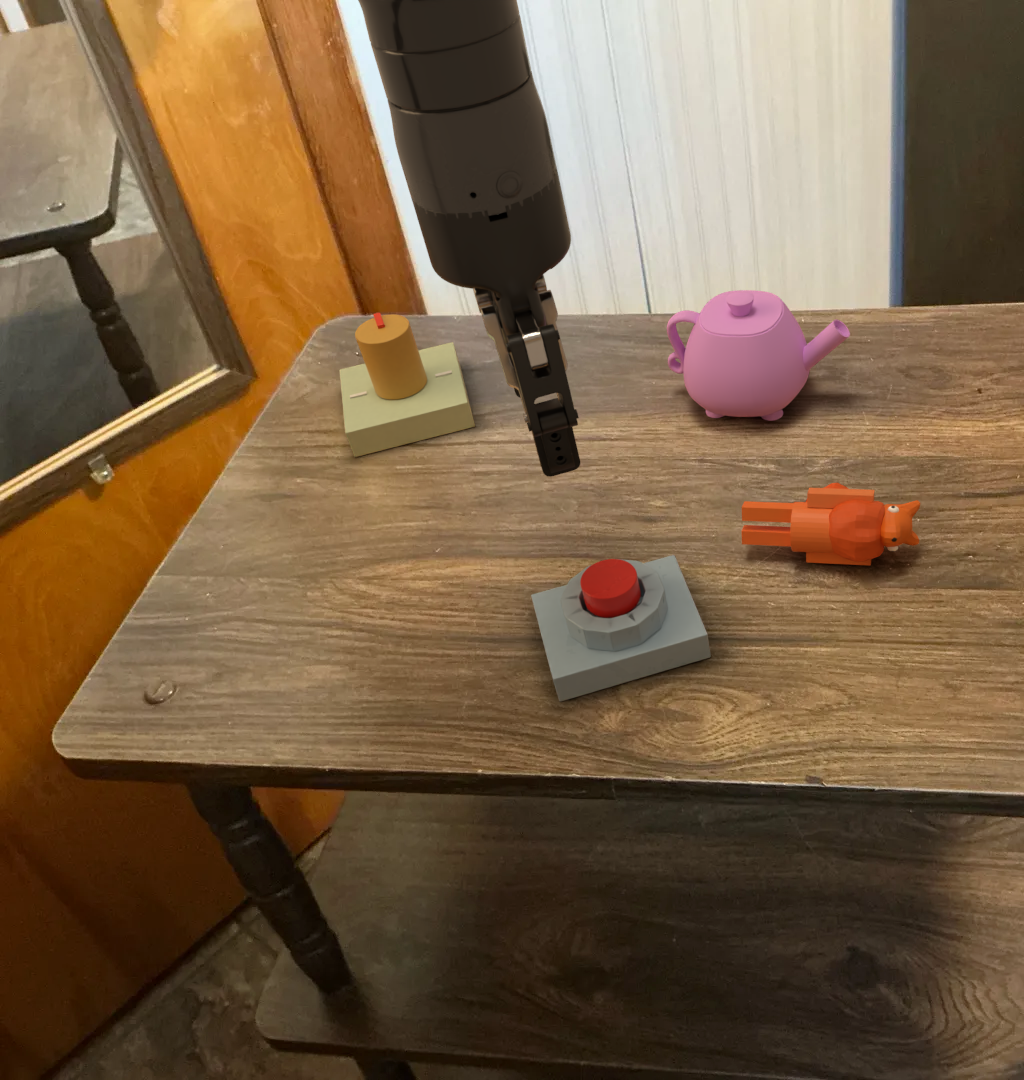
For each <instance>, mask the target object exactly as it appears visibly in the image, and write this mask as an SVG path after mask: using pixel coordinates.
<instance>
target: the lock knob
mask: <svg viewBox="0 0 1024 1080" xmlns="http://www.w3.org/2000/svg"><path fill="white" fill-rule="evenodd" d="M411 326H412V325H411V323H410V321H409V319H408V318H406V317H405V316H403V315H401V314H383V315H382V314H381V312H376V313H373V317H372V318H370V319H367V320H365V321H364V322H362V323H361V324H360V325H359V326H358V327H357V328H356V330H355V332H354V338H355V340H356V343H357V346H358V348H359V351H360V354H361V356H362V359H363V362H364V363H365V365H366V368H367V370H368V373H369V376H370V379H371V381H372V384H373V387H374V390H375V392H376V394H377V395H378V396H379V397H381V398H384V399H389V400H396V399H403V398H406V397H409V396H412V395H414V394H416V393H417V392H419V391H420V390H421V389H422V388H423V387H424V386H425V385H426V383H427V376H426V373H425V370H424V366H423V363H422V360H421V357H420V354H419V351H418V350H419V348H418V345H417V343H416V339H415V336H414V332H413V329H412V327H411Z"/></svg>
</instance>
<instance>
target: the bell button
mask: <svg viewBox="0 0 1024 1080" xmlns="http://www.w3.org/2000/svg"><path fill="white" fill-rule="evenodd" d="M620 559H621V558H608V559H607V558H606V559H602V560H600V561H597V562H595V563H593V564H590V565H591V566H590V565H589V566H590V567H589V568H587V569H586V570H585V572H584V573H583V575H582V577H581V581H580V585H581V589H582V593H583V597H584V601H585V605H586V607H587V609H588V610H589V611H590V612H591V613H593V614H594V615H597V616H599V617H605V618H612V617H617V616H621V615H624V614H626V613H628V612H630V611H631V610H632V609H633V608H635V606H636V605H637V604H638V602H639V600H640V597H641V591H640V586H639V581H638V576H637V572H636V570H635V568H634V567H633V566H632V565H631V564H630V563H628V562H626V561H624V560H625V559H624V560H620Z"/></svg>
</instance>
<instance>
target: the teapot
mask: <svg viewBox="0 0 1024 1080" xmlns="http://www.w3.org/2000/svg"><path fill="white" fill-rule="evenodd" d="M683 322H684V323H691V324H693V326H692V327H691V328H692V329H691V331H690V333H689V336H688V339H687V342H686V346H685V344H684V343H683V340H682V339H681V337H680V334H679V331H678V329H677V324H678V323H683ZM666 335H667V337H668V340H669V342H670V345H671V346H672V349H673V352H671V353H670V354H669V355H668V358H667V366H668V368H669V369H670V370H671V371H672V372H673V373H676V374H679V375H683V383H684V387H685V389H686V391H687V394H688V395H689V397H690V398H691V399H692V400H693V401H694V402H695V403H696V404H698V405H699V406H700V407H701V408H703V409H704V410H705V414H706V416H707V417H709V418H712V419H720V418H723V417H725V416H726V417H738V418H755V417H761V419H763V420H764V421H771V422H773V421H777V420H779V419H781V418H782V417H783V415H784V411H783V409H785V408H786V407H787V406H788V405H790V403H792V401H794V399H795V398H796V397H797V396H798V394H799V393H800V392H801V391H802V389H803V388H804V386H805V385H806V383H807V380H808V378H809V376H810V371H811V369H812V368H813V367H815V366H816V365H817V364H818V363H819V362H821V361H822V360H823V359H824V358H825V357H827V356H828V355H829V354H830V353H831V352H833V351H834V350H835V349H837V348H838V347H839V346H840V345H841V344H842V343H843V342H845V341H846V340H847V339H848V338H849V337H850V336H851V332H850V329H849V328H848V327H847V325H846V324H845V323H844V322H843V321H841V320H840V319H837V318H835V319H833V320H832V322H830V323H829V324H828V325H827V326H826V327H824V329H822V330H821V331H820V332H819V333H818V334H817V335H815V337H814V338H813V339H812V340H810V341H809V342H808V343H807V340H806V336H805V335H804V332H803V329H802V328H801V326H800V324H799V322H798V320H797V319H796V317H795V316H794V314H793V312H792V311H791V310H790V308H789V307H788V306H787V304H786V303H785V302H784V301H783V300H782V298H780V296H779V295H777V294H774V293H773V292H770V291H763V290H756V289H755V290H753V289H746V290H745V289H740V290H729V291H728V290H727V291H724V292H721V293H719V294H717V295H715V296H713V297H712V298H711V299H709V300H708V301H707V302H706V303H705V304H704V305H703V307H702V308H701V310H700V311H699V312H697V311H694V310H689V309H688V310H687V309H686V310H680V311H677V312H676V313H675V314H673V315H672V316H671V317H670V318H669V320H668V322H667V324H666ZM676 359H678V360H679V361H678V360H676Z"/></svg>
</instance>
